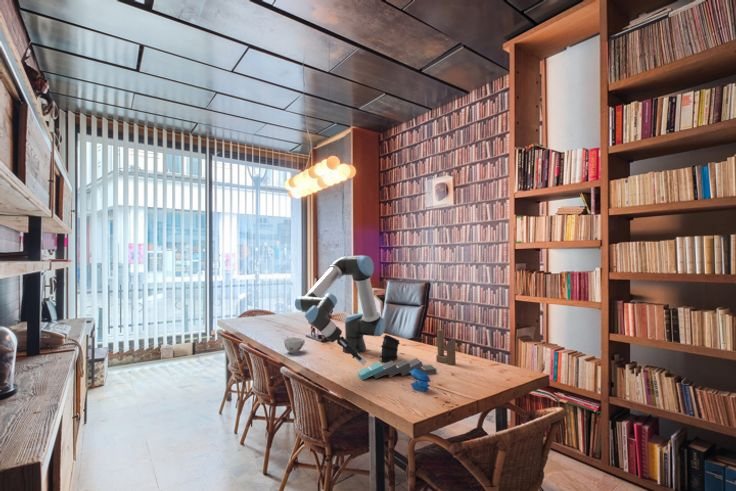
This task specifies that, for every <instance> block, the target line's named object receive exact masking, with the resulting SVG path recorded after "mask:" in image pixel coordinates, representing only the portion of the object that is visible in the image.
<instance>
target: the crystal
mask: <svg viewBox="0 0 736 491" xmlns="http://www.w3.org/2000/svg"><path fill="white" fill-rule="evenodd" d="M409 374H410V375H411V376H412V378H413V379H414V380H415V381H413V382H411V383H410V386H411V388H412V389H413V390H415V391H419V392H427V391H429V390H430V388H429V387H430V384H429V382H430V383H431V381H432V380H431V379H430V377H429V374H425V373H424V372H422V371H420V370H418V369H414V370H411V371H410V373H409Z"/></svg>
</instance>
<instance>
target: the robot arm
mask: <svg viewBox="0 0 736 491" xmlns="http://www.w3.org/2000/svg"><path fill="white" fill-rule="evenodd" d="M374 268H375V267H374V262H373V259H372V258H371V257H370V256H368V255H362V254H361V255H343V256H341V257H339V258H337V259H335V261H333V262H332V263H330V264H329V266H328V267H327V268H326V269H327V270H326V271H325V273H324V274H323V275H322V276H321V277H320V278H319V279H318V280H317V281H316V282H315V283H314V285H312V287H310V289H309V290H308V291H307V293H306V294H304V295H300V296H297V297H296V298H295V300H294V307H295V309H296V310H297V311H303V312H305V313H304V317H305V319H306V320H307V321H308V322H309V323H310V324H311V325H312V326H313V327H314V328H315V329H317V331H319V332H320V335H323V336H324V337H326V339H327V340H328V341H329V342H330V343H334V342H336V343H337V344H338V345H339V346H340V347H342V352H344V353H347V354H350V355H351V356H352V359H356V360H357V362H358V363H359V364H361V365H362V366H365V365H366V364H367V360H366V359H365V358H364V357H363V356H362V355H361V354H360V353H364V352H366V351H367V346H366V341H365V338H364V336H368V337H369V336H370V337H374V338H375V337H381V336H383V334H384V332H385V329H386V319H385V317H381V313H380V312H379V311H378V310H377V304H376V301H375V296H374V292H373V286H372V283H371V278H372V276H373V274H374ZM344 276H351V278H352V281H354V282H355V284H356V288H357V291H358V296H359V297H358V298H359V300H360V301H359V302H360V305H361V309H362V313H353V314H349V315H346V316H345V319H344V320H345V321H344V324H345V325H344V329H345V330H344V332H345V335H344V336H345V337H344V336H343V335H342V333H343V330H342V329H341V328H339V326H337V324H335V322H333V321H332V320H331V319H330V318H329V316H330V314H331V313H332V311H333V310H334V308H335V307H336V305H337V304H338V299H337V297H336V296H335V295H334V294H333V293H330V292H329V293H327V292H328V291H329V289H331V287H332V286H333V284H334V283H335V282H336V281H337V280H340V279H341V278H342V277H344Z"/></svg>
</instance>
